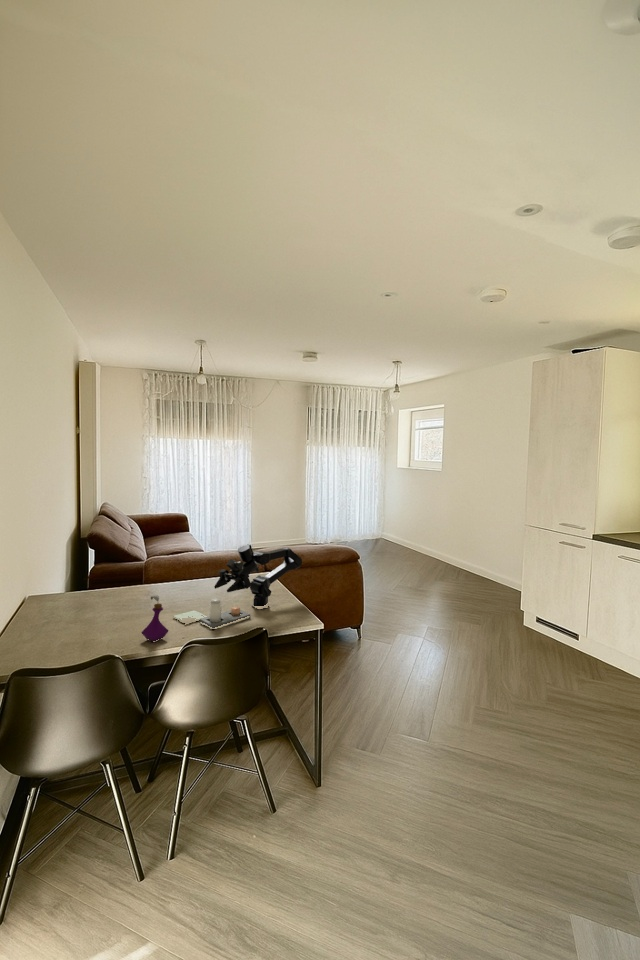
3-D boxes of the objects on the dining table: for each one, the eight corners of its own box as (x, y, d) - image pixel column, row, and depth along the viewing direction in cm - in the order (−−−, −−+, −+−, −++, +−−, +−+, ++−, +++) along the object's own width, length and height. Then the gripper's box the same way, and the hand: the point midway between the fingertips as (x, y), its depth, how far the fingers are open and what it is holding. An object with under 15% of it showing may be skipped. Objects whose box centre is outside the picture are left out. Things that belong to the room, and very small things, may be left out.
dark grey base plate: (236, 612, 213) (237, 608, 213) (250, 618, 206) (250, 614, 206) (200, 623, 198) (200, 619, 198) (213, 630, 191) (213, 625, 191)
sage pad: (194, 612, 211) (194, 610, 211) (207, 618, 204) (207, 616, 204) (172, 618, 203) (172, 616, 203) (185, 625, 196) (185, 623, 196)
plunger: (236, 612, 209) (236, 606, 209) (241, 614, 206) (242, 608, 206) (229, 614, 206) (229, 608, 206) (234, 616, 203) (234, 610, 203)
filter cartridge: (216, 621, 202) (217, 597, 201) (223, 624, 198) (223, 600, 197) (207, 624, 198) (207, 600, 197) (213, 627, 195) (214, 603, 194)
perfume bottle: (168, 638, 182) (169, 595, 181) (153, 645, 176) (153, 600, 174) (156, 634, 186) (156, 591, 184) (141, 640, 179) (141, 596, 178)
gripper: (227, 552, 215) (202, 571, 205) (252, 558, 203) (227, 578, 192) (235, 571, 219) (210, 591, 208) (260, 578, 207) (236, 599, 196)
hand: (220, 589), depth 201 cm, fingers open, 9 cm apart
